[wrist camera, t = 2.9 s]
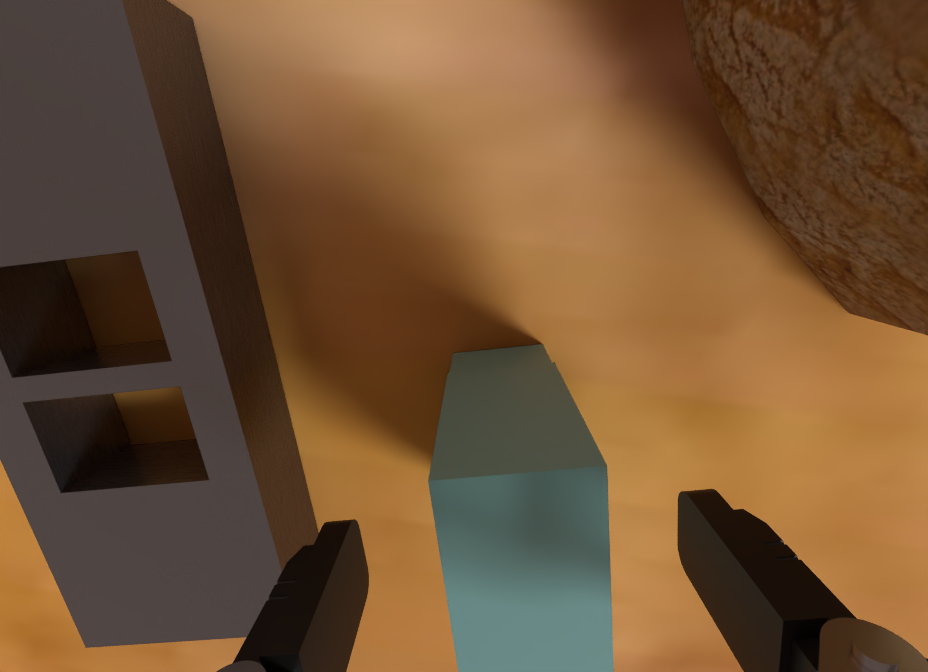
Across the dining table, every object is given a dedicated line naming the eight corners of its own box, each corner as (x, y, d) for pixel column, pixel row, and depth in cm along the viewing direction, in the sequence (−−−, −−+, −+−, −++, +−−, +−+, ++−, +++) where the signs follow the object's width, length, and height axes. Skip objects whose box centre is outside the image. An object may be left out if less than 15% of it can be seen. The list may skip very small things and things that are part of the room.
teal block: (451, 347, 16) (428, 481, 8) (542, 338, 15) (607, 465, 8) (470, 492, 17) (465, 719, 10) (552, 486, 17) (614, 711, 9)
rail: (-58, 55, 14) (-203, 13, 11) (192, 17, 13) (111, -37, 10) (145, 580, 19) (85, 647, 16) (327, 567, 18) (299, 633, 16)
